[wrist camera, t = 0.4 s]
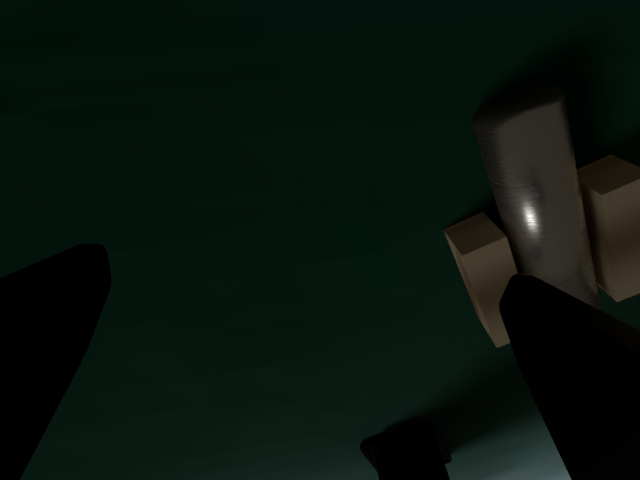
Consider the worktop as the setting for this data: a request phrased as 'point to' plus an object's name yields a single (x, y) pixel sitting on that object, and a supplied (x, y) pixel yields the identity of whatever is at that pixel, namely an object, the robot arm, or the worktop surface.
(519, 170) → the axle
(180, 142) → the worktop surface
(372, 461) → the robot arm
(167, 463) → the worktop surface
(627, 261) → the bore beam
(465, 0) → the worktop surface
